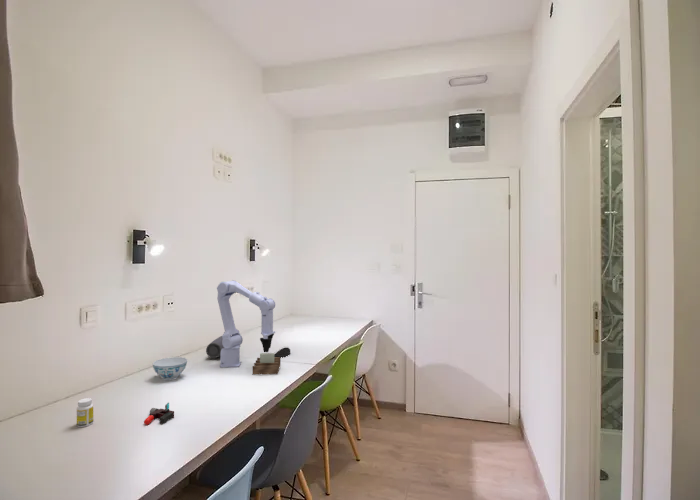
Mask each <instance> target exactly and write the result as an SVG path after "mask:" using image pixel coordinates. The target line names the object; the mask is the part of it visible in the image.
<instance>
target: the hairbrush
mask: <svg viewBox="0 0 700 500" xmlns="http://www.w3.org/2000/svg"><path fill="white" fill-rule="evenodd" d="M288 355H289V356H290V355H291V349H290V347H289V346H288V345H287V346H283V347H281V348H280V349H278V351H277V350H276V352H274V357H280V359H282V358H283V357H284V358H287V357H289V356H288ZM286 356H287V357H286ZM281 357H282V358H281Z"/></svg>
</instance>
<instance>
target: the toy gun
mask: <svg viewBox="0 0 700 500" xmlns="http://www.w3.org/2000/svg"><path fill="white" fill-rule="evenodd" d="M164 406H165V407H164V408H156V407H151V408H150V409H149V414H148V416H147V417H146V418H145V419H144V421H143V424H144V425H146V426H147V425H150V424H151V423H152V422H153V421H154V420H157V419H158V420H159V424H161V425H164V424H165V423H167V422H169V421H170V420H172V419H174V418H175V411H174V410H170V402H167V403H166V404H165V405H164Z"/></svg>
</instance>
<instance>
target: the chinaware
mask: <svg viewBox="0 0 700 500" xmlns="http://www.w3.org/2000/svg"><path fill="white" fill-rule="evenodd" d="M187 363H188V358H186V357H182V356H172V357H164V358H159V359H156V360H154V361H153V362H152V368H153V370H154V372H155V373H156V375H158V376H159V377H160V378H161V379H162V380H164V381H171V380H176V379H178V378H179V375H181V374H182V373H183V372H184V370H185V369H186V367H187Z"/></svg>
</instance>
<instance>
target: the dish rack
mask: <svg viewBox="0 0 700 500" xmlns="http://www.w3.org/2000/svg"><path fill="white" fill-rule="evenodd" d="M279 367H280V368H281V358H280V357H274V363H260V357H257V358H256V360H255V362H254V363H253V365H252V375H253V374H262V375H278V374H279V371H280V368H279Z"/></svg>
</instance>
